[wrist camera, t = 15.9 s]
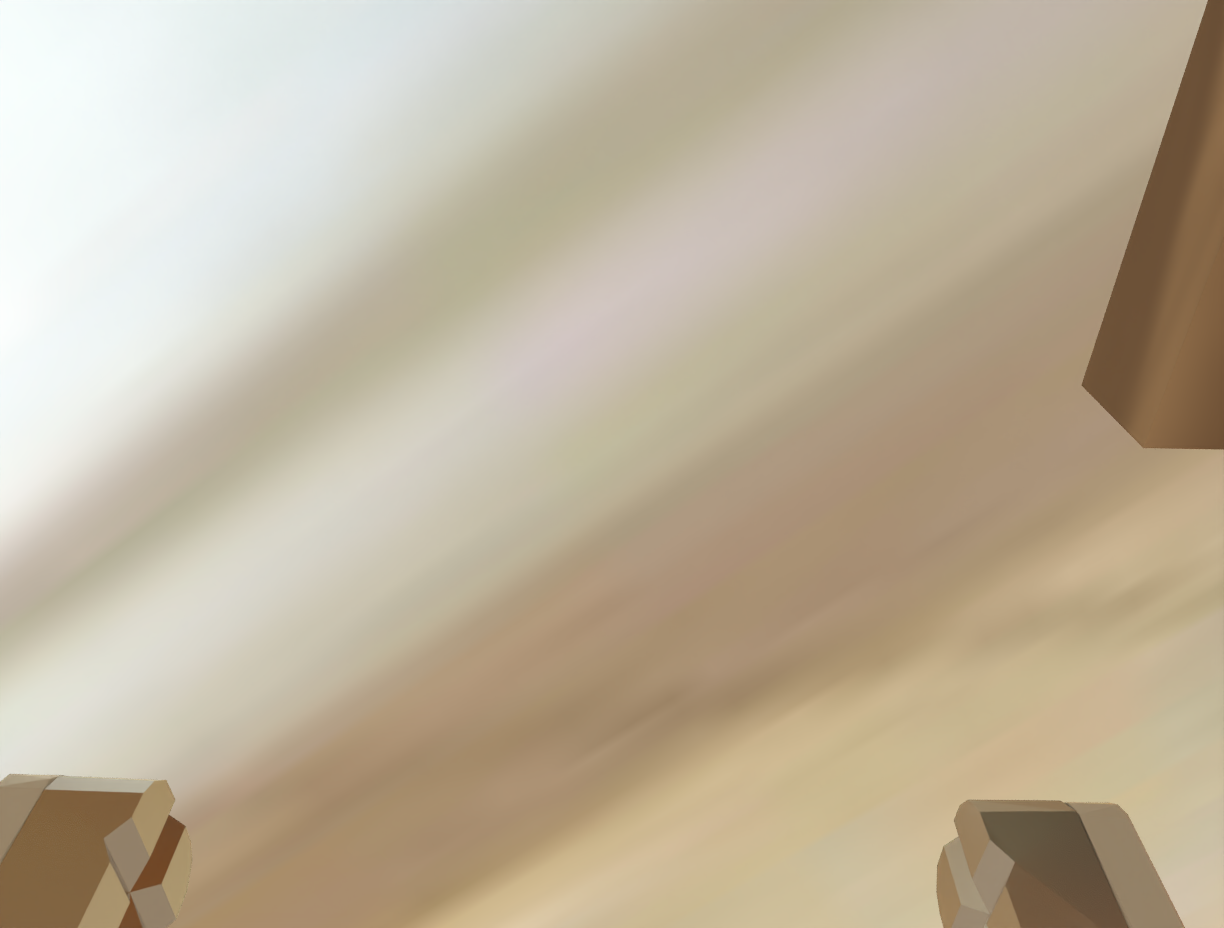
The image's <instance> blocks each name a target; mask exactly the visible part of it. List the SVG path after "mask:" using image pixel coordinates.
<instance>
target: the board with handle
mask: <svg viewBox="0 0 1224 928" xmlns="http://www.w3.org/2000/svg"><path fill="white" fill-rule="evenodd" d="M1082 386H1083V387H1084V388H1085V389H1086V390H1087V391H1088V392H1089V393H1090V394H1091V395H1092V396H1093V397H1094V398H1095V399H1096V400H1097V401H1098V402H1099V403H1100V405H1101V406H1102V407H1103V408H1104V409H1105V410H1106V411H1107V412H1108V413H1109V414H1110V415H1111V416H1112V417H1113V418H1114V419H1115V420H1116V421H1117V422H1118V423H1119V424H1120V425H1121V426H1122V427H1123V428H1124V429H1125V430H1126V431H1127V432H1128V433H1129V434H1130V435H1131V436H1132V437H1133V438H1134V439H1135V440H1136V441H1137V442H1138V443H1139V444H1140V445H1141V446H1142V447H1143V448H1177V449H1224V0H1208V2H1207V5H1206V8H1205V11H1204V15H1203V18H1202V21H1201V24H1200V27H1199V30H1198V33H1197V36H1196V39H1195V42H1194V45H1193V48H1192V51H1191V54H1190V57H1189V60H1188V63H1187V66H1186V69H1185V72H1184V75H1183V78H1182V81H1181V84H1180V87H1179V91H1178V94H1177V97H1176V100H1175V103H1174V106H1173V109H1172V112H1171V115H1170V118H1169V121H1168V124H1167V127H1166V130H1165V133H1164V136H1163V139H1162V142H1161V145H1160V148H1159V151H1158V154H1157V157H1156V160H1155V163H1154V167H1153V170H1152V173H1151V176H1150V179H1149V182H1148V185H1147V188H1146V191H1145V194H1144V197H1143V200H1142V203H1141V206H1140V209H1139V212H1138V215H1137V218H1136V221H1135V224H1134V227H1133V230H1132V233H1131V236H1130V239H1129V243H1128V246H1127V249H1126V252H1125V255H1124V258H1123V261H1122V264H1121V267H1120V270H1119V273H1118V276H1117V279H1116V282H1115V285H1114V288H1113V291H1112V294H1111V297H1110V300H1109V303H1108V306H1107V309H1106V312H1105V315H1104V319H1103V322H1102V325H1101V328H1100V331H1099V334H1098V337H1097V340H1096V343H1095V346H1094V349H1093V352H1092V355H1091V358H1090V361H1089V364H1088V367H1087V370H1086V373H1085V376H1084V379H1083V382H1082Z"/></svg>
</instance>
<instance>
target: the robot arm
mask: <svg viewBox="0 0 1224 928" xmlns="http://www.w3.org/2000/svg"><path fill="white" fill-rule="evenodd" d="M174 802H175V798H174V796H173V794H172V791H171V789H170V787H169V785H168V783H167V781H166V780H154V779H128V778H102V777H76V776H64V775H29V774H9V775H8V776H7V777H5V778H4V779H3V780H2V781H1V782H0V928H167V927H168V926H169V925H170V924H171V923H173V922H174V921H175V920H176V919H177V916H178V914H179V911H180V908H181V906H182V903H183V900H184V898H185V895H186V892H187V889H188V883H189V877H190V872H191V866H192V849H191V840H190V837H189V834H188V831H187V829H186V826H185V825H183V824H182V823H180V822H179V821H177V820H176V819H174V818H173V817H172V816H170V815H169V813H170V811H171V808H172V806H173V804H174ZM954 822H955V826H956V829H957V832H958V835H959V837H957V838H955V839H954V840H952V841H951V842H949V843H948V844H946V845H944V847H943V850H942V853H941V856H940V859H939V862H938V865H937V898H938V904H939V911H940V916H941V920H942V923H943V927H944V928H1185V927H1184V925H1183V923H1182V921H1181V919H1180V917H1179V915H1178V913H1177V911H1176V909H1175V907H1174V905H1173V903H1172V901H1171V899H1170V897H1169V895H1168V893H1167V891H1166V889H1165V887H1164V885H1163V883H1162V881H1161V879H1160V877H1159V875H1158V873H1157V871H1156V869H1155V867H1154V865H1153V864H1152V862H1151V860H1150V858H1149V856H1148V854H1147V852H1146V850H1145V848H1144V846H1143V844H1142V842H1141V840H1140V838H1139V836H1138V834H1137V832H1136V830H1135V828H1134V826H1133V824H1132V822H1131V820H1130V818H1129V816H1128V814H1127V813H1126V812H1125V811H1124V810H1123V809H1122V808H1121V807H1120V806H1119V805H1117V804H1112V803H1080V802H1062V801H1046V800H967V801H966V802H964V803H963V804H961V805H960V806H959V809H958V811H957V814H956V816H955V818H954Z"/></svg>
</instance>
